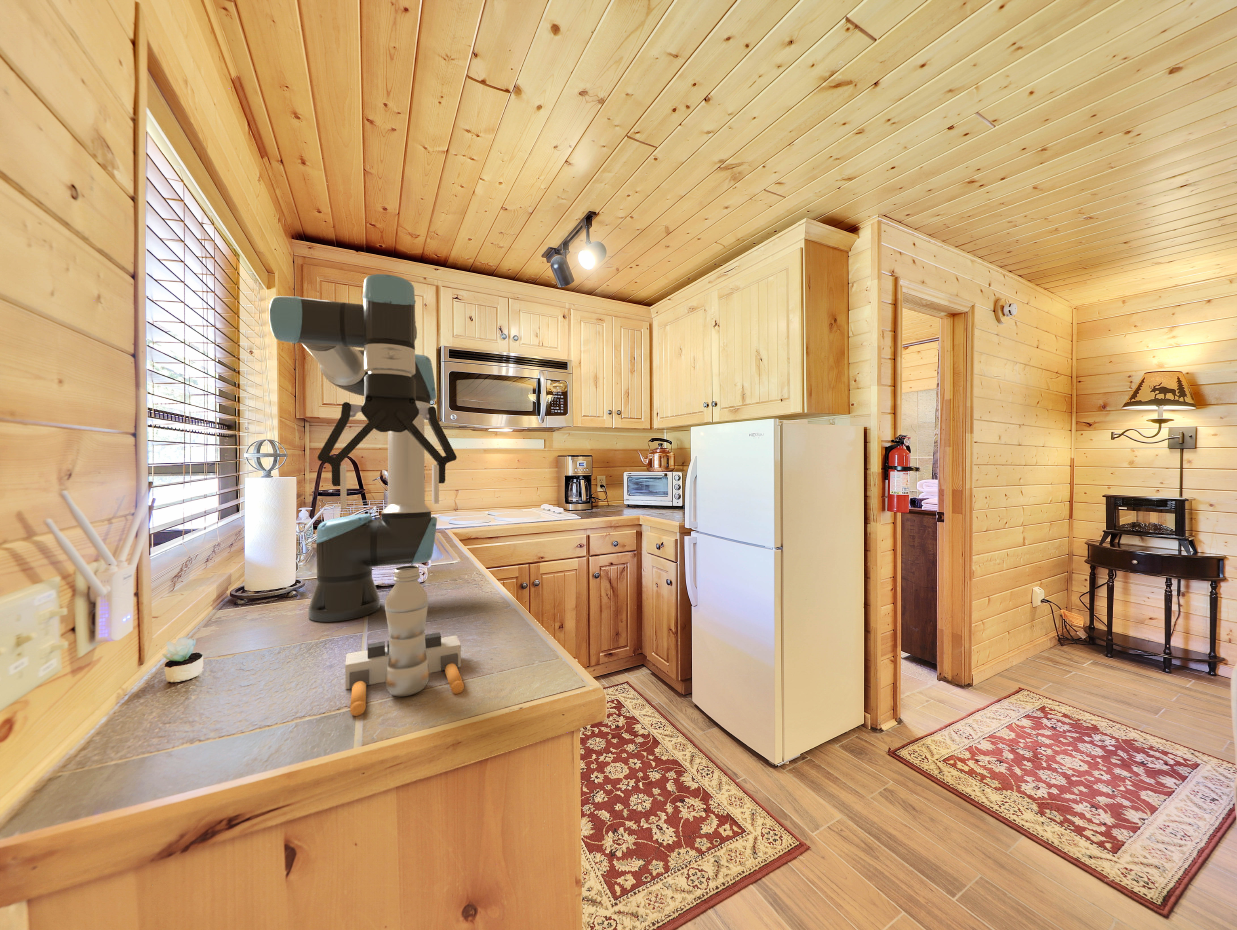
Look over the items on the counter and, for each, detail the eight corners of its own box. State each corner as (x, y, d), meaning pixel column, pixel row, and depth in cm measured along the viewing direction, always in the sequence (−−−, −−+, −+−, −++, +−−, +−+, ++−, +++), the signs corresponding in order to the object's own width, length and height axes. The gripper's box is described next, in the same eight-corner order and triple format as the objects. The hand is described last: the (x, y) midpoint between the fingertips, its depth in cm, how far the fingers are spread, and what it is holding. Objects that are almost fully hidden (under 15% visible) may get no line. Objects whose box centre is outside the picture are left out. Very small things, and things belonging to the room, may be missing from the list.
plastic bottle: (438, 683, 79) (437, 564, 78) (412, 704, 72) (411, 573, 72) (403, 680, 80) (402, 562, 80) (375, 700, 73) (374, 571, 73)
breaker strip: (347, 676, 81) (346, 643, 81) (456, 656, 89) (456, 625, 89) (345, 691, 76) (344, 655, 76) (461, 668, 84) (461, 636, 84)
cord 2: (444, 674, 82) (444, 662, 82) (456, 671, 83) (456, 660, 83) (451, 697, 74) (451, 684, 74) (464, 694, 75) (464, 682, 75)
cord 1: (352, 692, 76) (352, 680, 76) (366, 689, 77) (366, 677, 77) (349, 720, 68) (349, 706, 68) (365, 716, 69) (365, 703, 69)
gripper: (295, 364, 68) (297, 512, 68) (473, 378, 80) (473, 503, 80) (301, 371, 74) (303, 506, 75) (465, 383, 86) (465, 499, 87)
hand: (391, 505), depth 78 cm, fingers open, 13 cm apart
